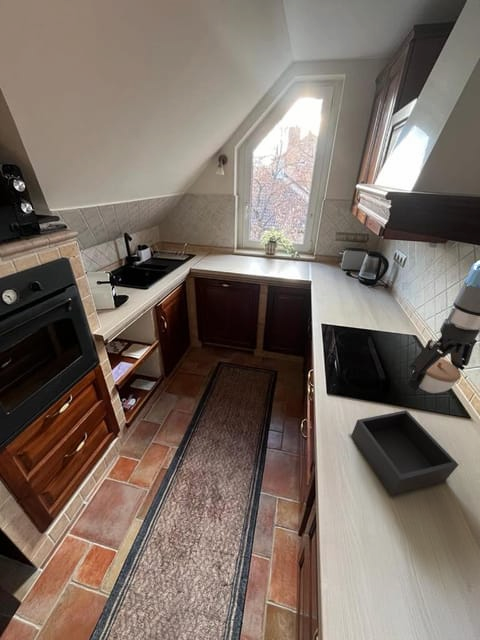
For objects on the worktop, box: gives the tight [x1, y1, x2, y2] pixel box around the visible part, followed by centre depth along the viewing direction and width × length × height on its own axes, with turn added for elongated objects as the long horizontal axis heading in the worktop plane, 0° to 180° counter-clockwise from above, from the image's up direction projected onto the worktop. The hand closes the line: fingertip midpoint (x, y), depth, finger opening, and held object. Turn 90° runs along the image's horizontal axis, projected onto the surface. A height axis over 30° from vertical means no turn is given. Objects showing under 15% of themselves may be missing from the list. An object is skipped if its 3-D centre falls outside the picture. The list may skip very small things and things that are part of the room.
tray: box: [350, 409, 459, 496], centre depth 75 cm, size 18×18×8 cm
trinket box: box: [412, 358, 462, 394], centre depth 75 cm, size 11×11×9 cm
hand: (428, 384), depth 78 cm, fingers closed on trinket box, 11 cm apart
